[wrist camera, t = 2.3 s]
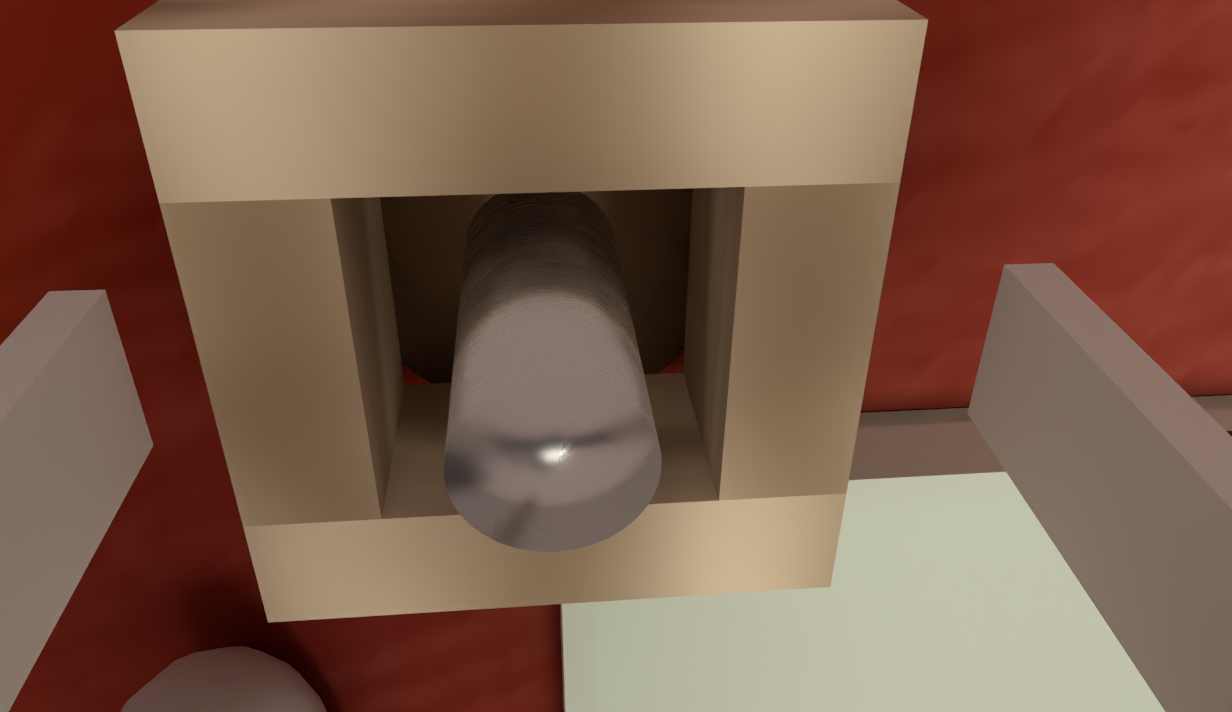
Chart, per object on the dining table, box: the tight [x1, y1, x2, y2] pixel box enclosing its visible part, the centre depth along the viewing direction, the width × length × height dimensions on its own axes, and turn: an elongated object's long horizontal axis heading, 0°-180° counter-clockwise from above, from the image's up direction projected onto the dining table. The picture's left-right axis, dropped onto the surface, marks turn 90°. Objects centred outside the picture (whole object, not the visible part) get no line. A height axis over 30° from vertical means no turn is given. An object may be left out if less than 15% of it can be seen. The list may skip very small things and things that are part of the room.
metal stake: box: [380, 188, 693, 552], centre depth 16 cm, size 7×7×10 cm
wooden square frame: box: [114, 0, 928, 623], centre depth 16 cm, size 10×10×4 cm
